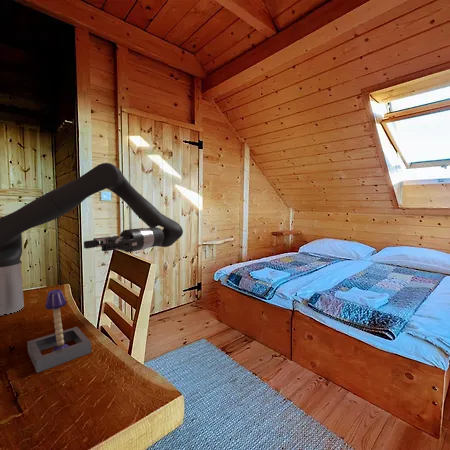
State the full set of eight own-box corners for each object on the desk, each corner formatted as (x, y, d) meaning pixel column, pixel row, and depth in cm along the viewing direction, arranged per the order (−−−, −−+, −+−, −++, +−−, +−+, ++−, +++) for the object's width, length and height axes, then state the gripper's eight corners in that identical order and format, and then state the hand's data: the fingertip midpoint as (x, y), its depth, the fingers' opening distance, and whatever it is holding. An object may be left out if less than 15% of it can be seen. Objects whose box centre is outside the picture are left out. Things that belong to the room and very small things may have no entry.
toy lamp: (48, 359, 68) (43, 295, 67) (50, 350, 72) (45, 289, 71) (69, 353, 70) (65, 292, 69) (70, 345, 75) (66, 286, 73)
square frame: (36, 373, 63) (36, 360, 62) (28, 352, 71) (27, 341, 71) (91, 352, 71) (90, 341, 71) (77, 336, 80) (77, 326, 79)
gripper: (123, 227, 95) (78, 232, 81) (152, 229, 88) (108, 235, 74) (123, 248, 96) (79, 256, 82) (152, 252, 89) (109, 262, 75)
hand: (93, 246), depth 78 cm, fingers open, 8 cm apart
